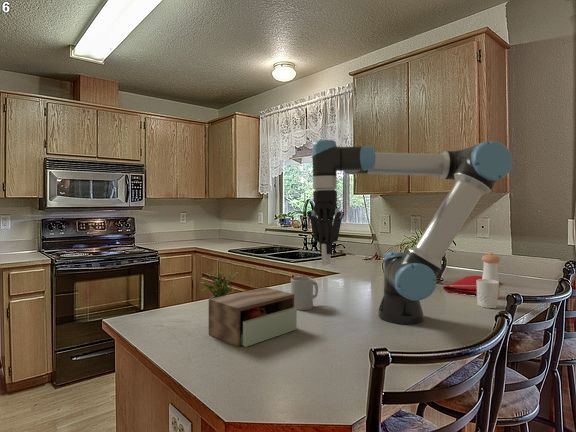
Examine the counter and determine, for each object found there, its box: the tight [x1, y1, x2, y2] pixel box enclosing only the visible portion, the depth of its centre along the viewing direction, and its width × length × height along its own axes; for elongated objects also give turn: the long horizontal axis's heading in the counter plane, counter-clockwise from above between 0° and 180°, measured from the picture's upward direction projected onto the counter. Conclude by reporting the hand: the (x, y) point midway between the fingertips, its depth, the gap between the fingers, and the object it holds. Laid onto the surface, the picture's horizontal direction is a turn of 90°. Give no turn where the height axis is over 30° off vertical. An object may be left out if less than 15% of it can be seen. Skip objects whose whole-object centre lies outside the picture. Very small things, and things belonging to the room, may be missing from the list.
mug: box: [290, 276, 319, 311], centre depth 148 cm, size 12×8×11 cm
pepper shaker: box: [481, 252, 501, 299], centre depth 165 cm, size 7×7×19 cm
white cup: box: [476, 279, 500, 309], centre depth 151 cm, size 8×8×10 cm
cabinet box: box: [208, 286, 294, 347], centre depth 120 cm, size 14×23×11 cm, turn 136°
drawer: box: [240, 307, 298, 348], centre depth 118 cm, size 15×21×7 cm
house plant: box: [199, 270, 239, 299], centre depth 137 cm, size 14×14×16 cm
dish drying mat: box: [442, 275, 483, 296], centre depth 185 cm, size 16×41×4 cm, turn 140°
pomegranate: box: [244, 307, 267, 321], centre depth 119 cm, size 7×7×10 cm
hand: (326, 263), depth 123 cm, fingers closed
